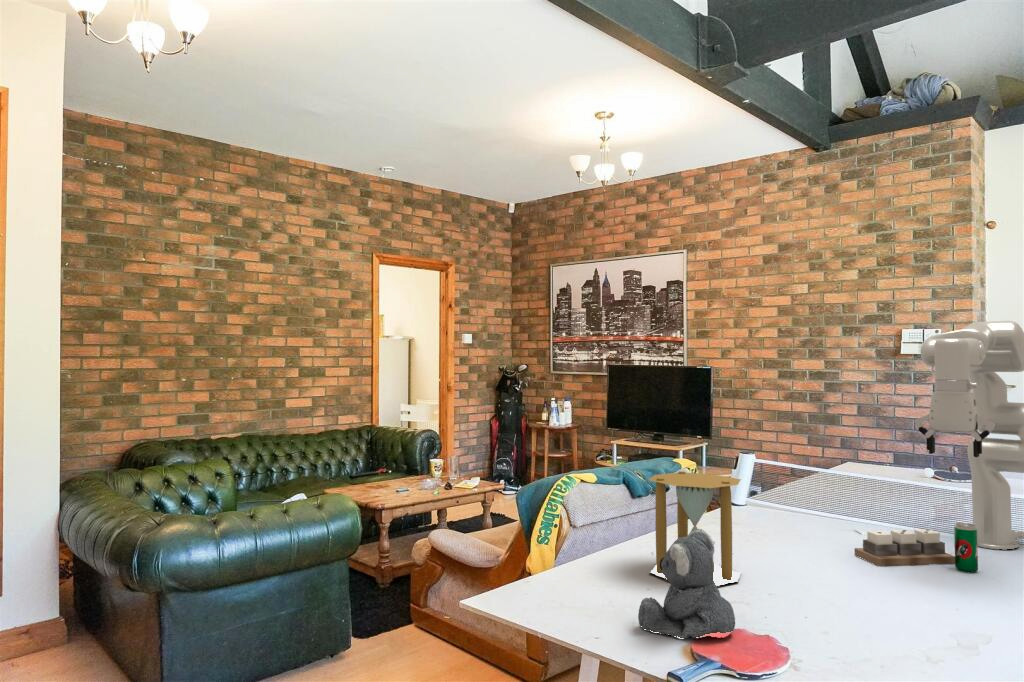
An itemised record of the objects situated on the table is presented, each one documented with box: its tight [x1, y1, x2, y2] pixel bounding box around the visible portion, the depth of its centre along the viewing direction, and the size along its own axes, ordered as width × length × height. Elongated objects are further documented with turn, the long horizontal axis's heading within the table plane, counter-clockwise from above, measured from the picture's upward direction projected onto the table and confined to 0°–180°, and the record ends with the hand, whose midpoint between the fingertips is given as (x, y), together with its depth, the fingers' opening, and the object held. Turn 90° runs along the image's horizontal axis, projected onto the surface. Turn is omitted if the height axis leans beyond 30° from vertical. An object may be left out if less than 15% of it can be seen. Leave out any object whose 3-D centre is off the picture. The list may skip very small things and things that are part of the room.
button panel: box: [854, 539, 955, 567], centre depth 192 cm, size 22×11×5 cm, turn 96°
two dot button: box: [913, 528, 941, 543], centre depth 193 cm, size 4×4×4 cm
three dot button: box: [890, 529, 916, 544], centre depth 192 cm, size 4×4×4 cm
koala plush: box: [637, 528, 736, 639], centre depth 144 cm, size 17×18×20 cm
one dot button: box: [866, 530, 892, 545], centre depth 192 cm, size 4×4×4 cm
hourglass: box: [647, 470, 741, 580], centre depth 180 cm, size 24×22×25 cm
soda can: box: [953, 522, 979, 574], centre depth 182 cm, size 5×5×12 cm
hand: (953, 454), depth 175 cm, fingers open, 9 cm apart
